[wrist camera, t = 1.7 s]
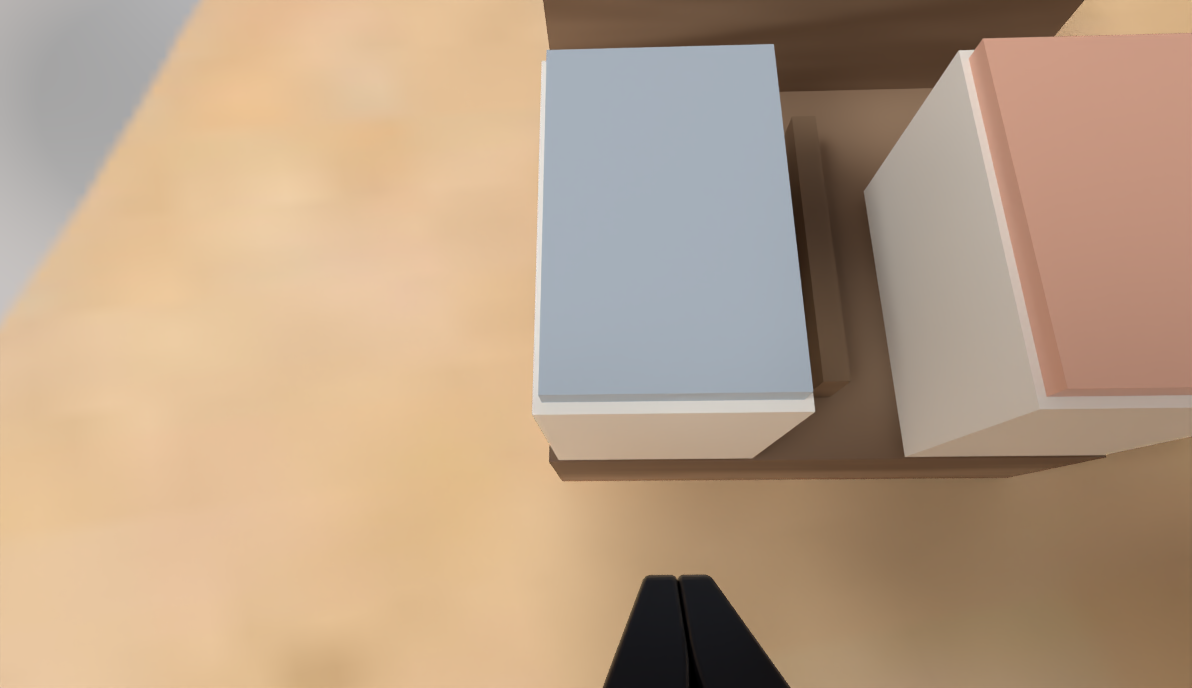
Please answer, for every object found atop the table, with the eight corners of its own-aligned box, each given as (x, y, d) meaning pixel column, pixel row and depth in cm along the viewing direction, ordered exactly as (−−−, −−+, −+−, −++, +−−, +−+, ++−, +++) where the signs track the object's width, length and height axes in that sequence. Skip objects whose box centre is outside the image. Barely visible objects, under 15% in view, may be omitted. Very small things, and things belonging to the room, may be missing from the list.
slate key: (752, 458, 15) (824, 404, 10) (558, 459, 15) (528, 407, 10) (731, 194, 17) (780, 35, 12) (562, 197, 17) (538, 41, 12)
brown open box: (1007, 477, 19) (1373, 401, 10) (562, 480, 19) (513, 411, 10) (937, 130, 23) (1152, -159, 14) (566, 138, 23) (534, -138, 14)
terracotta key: (1104, 455, 15) (1371, 398, 10) (904, 456, 15) (1060, 401, 10) (1036, 188, 17) (1223, 23, 12) (863, 191, 17) (972, 29, 12)
